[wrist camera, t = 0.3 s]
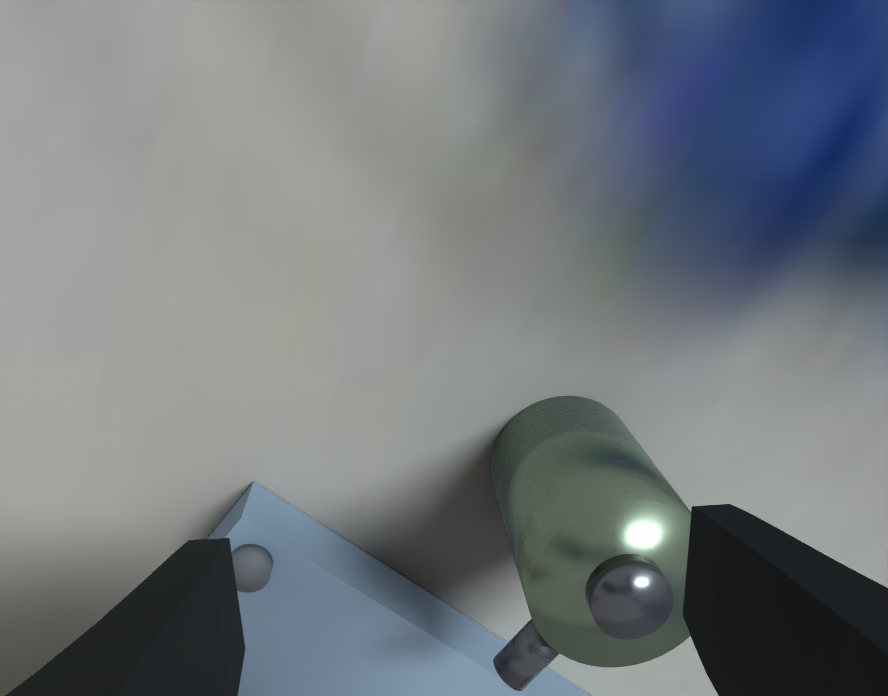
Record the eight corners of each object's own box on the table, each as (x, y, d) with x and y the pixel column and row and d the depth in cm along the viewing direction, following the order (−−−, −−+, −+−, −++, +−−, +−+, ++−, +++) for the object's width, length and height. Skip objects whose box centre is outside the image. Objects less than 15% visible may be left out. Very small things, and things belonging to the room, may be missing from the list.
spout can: (662, 450, 22) (772, 586, 16) (533, 584, 23) (588, 760, 17) (557, 367, 21) (631, 479, 15) (427, 513, 22) (444, 673, 16)
